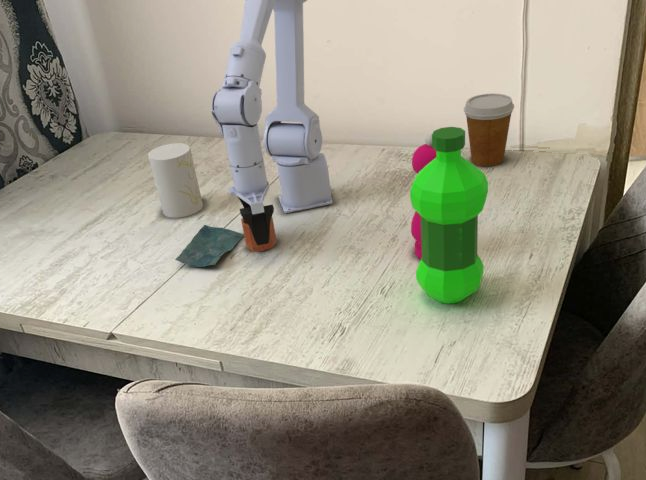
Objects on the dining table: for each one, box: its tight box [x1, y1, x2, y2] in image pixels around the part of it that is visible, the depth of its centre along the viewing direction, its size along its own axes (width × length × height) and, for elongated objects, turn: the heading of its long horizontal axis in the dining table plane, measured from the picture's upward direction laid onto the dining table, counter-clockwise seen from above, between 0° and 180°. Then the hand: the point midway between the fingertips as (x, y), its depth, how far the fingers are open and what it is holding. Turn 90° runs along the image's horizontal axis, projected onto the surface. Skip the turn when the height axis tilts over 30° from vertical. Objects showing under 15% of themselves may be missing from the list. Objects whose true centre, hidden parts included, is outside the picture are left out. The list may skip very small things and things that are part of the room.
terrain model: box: [174, 224, 244, 268], centre depth 130 cm, size 13×8×2 cm, turn 161°
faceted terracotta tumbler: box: [240, 216, 277, 253], centre depth 129 cm, size 5×6×5 cm
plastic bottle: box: [409, 126, 489, 304], centre depth 103 cm, size 10×10×25 cm
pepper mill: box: [410, 133, 437, 260], centre depth 115 cm, size 7×7×20 cm
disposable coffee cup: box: [463, 93, 515, 167], centre depth 144 cm, size 10×10×12 cm
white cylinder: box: [147, 142, 204, 219], centre depth 143 cm, size 8×8×12 cm
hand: (259, 233), depth 129 cm, fingers open, 7 cm apart
